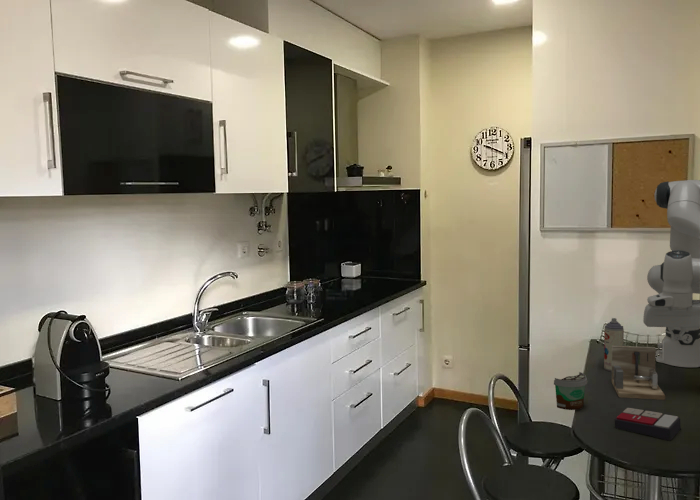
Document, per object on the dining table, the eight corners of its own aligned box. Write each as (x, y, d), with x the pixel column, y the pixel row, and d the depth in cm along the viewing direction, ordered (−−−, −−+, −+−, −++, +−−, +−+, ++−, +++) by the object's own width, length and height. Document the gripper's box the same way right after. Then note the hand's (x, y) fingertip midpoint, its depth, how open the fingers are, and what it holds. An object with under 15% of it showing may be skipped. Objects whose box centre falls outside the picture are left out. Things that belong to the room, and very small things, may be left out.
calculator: (626, 406, 182) (680, 414, 172) (627, 419, 183) (681, 429, 172) (613, 416, 174) (669, 426, 164) (614, 431, 175) (670, 441, 164)
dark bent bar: (634, 379, 211) (634, 351, 210) (638, 379, 210) (639, 351, 209) (635, 381, 208) (635, 354, 207) (640, 382, 207) (640, 354, 206)
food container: (568, 414, 186) (568, 383, 185) (553, 408, 191) (553, 378, 190) (595, 406, 192) (596, 376, 191) (580, 400, 197) (580, 371, 196)
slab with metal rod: (631, 379, 210) (631, 366, 209) (651, 380, 208) (652, 367, 207) (635, 387, 202) (635, 373, 201) (657, 388, 200) (657, 374, 200)
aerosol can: (602, 366, 233) (603, 316, 231) (621, 367, 231) (621, 316, 229) (605, 371, 226) (606, 320, 224) (625, 372, 225) (625, 320, 223)
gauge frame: (611, 382, 214) (611, 345, 213) (654, 384, 210) (654, 347, 209) (618, 397, 199) (619, 358, 198) (665, 399, 195) (665, 359, 194)
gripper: (709, 297, 198) (708, 338, 200) (642, 297, 204) (642, 336, 206) (715, 301, 192) (714, 343, 194) (646, 301, 198) (645, 341, 200)
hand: (676, 339), depth 200 cm, fingers closed
